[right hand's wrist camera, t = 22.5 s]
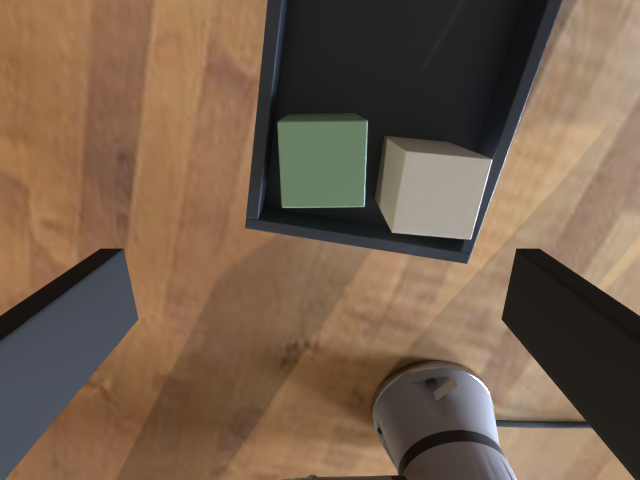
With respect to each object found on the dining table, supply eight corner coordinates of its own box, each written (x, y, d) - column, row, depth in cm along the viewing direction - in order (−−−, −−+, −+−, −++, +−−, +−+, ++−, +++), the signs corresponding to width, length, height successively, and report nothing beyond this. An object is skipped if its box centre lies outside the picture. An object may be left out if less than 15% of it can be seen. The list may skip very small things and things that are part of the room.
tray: (305, -265, 18) (290, -616, 9) (595, -194, 19) (838, -450, 10) (254, 211, 28) (222, 268, 19) (449, 243, 29) (509, 312, 20)
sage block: (355, 112, 24) (367, 120, 18) (354, 179, 26) (364, 207, 20) (288, 113, 24) (277, 120, 18) (291, 179, 26) (281, 208, 20)
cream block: (448, 141, 25) (493, 158, 19) (434, 204, 27) (471, 240, 20) (384, 135, 25) (406, 150, 18) (374, 198, 27) (391, 232, 20)
